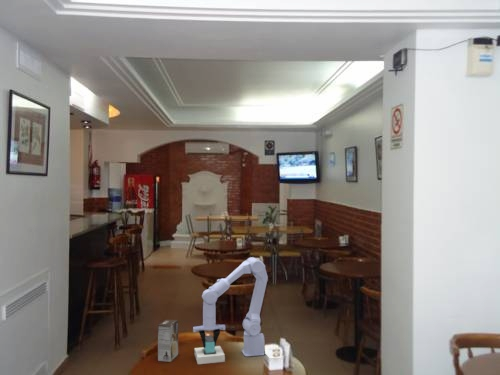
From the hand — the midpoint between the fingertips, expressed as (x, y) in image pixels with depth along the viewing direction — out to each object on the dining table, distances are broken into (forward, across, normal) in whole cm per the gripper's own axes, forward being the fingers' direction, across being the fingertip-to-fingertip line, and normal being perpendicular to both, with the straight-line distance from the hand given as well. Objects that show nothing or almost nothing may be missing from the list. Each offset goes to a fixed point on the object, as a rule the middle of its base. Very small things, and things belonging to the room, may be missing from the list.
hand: (209, 346), depth 197 cm
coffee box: (+5, +18, -5) cm, 19 cm away
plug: (+2, 0, 0) cm, 2 cm away
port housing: (+5, 0, 0) cm, 5 cm away
